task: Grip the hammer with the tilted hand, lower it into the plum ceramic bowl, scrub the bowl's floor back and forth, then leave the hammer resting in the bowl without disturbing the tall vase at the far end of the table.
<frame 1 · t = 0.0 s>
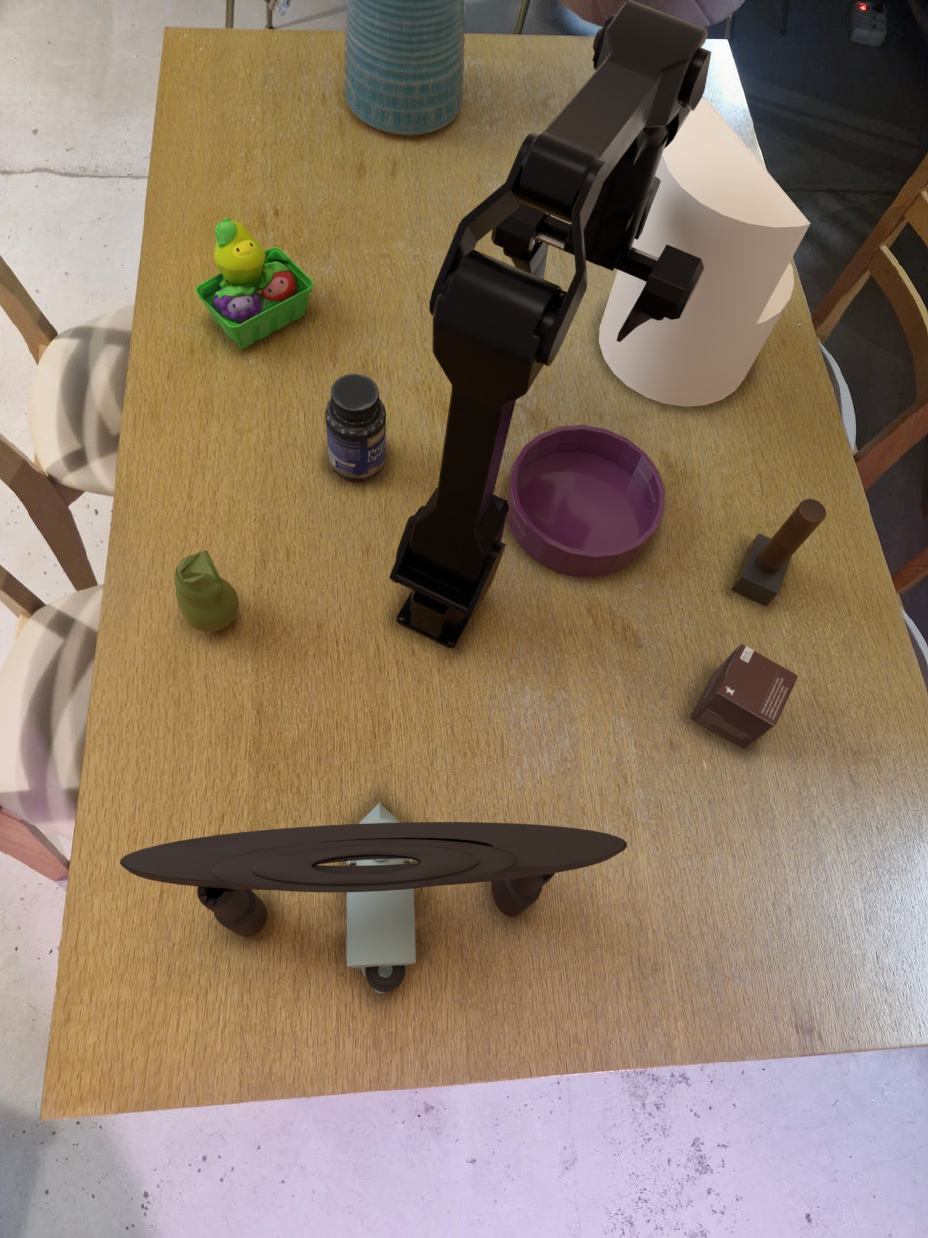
hand: (577, 320, 84), 15 cm above the table, tool pointing down, fingers open, 9 cm apart
hammer: (756, 576, 91), on the table
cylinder: (673, 346, 104), on the table
round plant dolly: (380, 894, 73), on the table
bowl: (579, 511, 92), on the table
vase: (403, 104, 119), on the table
fruit basket: (257, 317, 100), on the table
box: (727, 711, 84), on the table
pill bottle: (357, 460, 92), on the table
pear: (214, 616, 83), on the table
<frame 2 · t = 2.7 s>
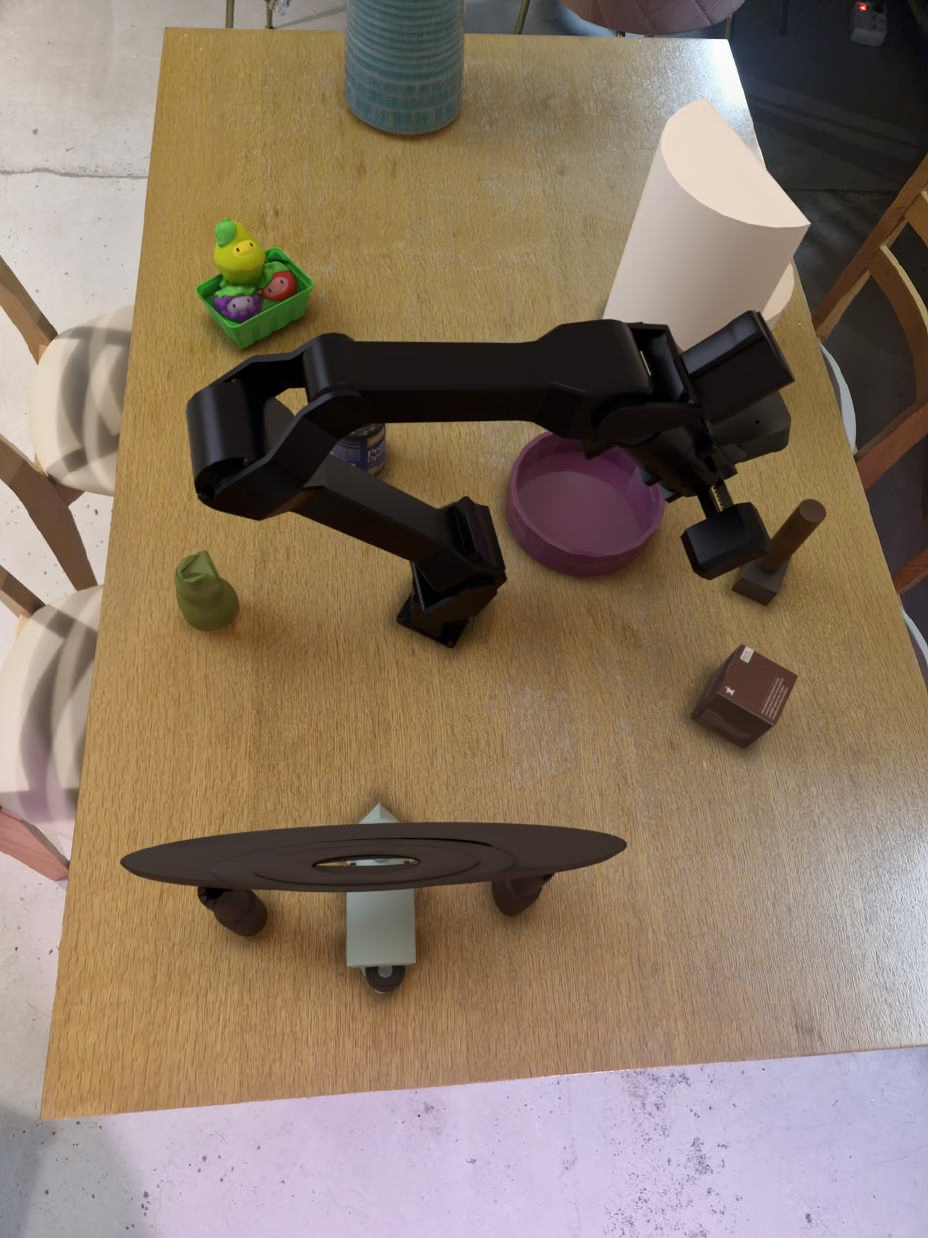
hand: (728, 499, 78), 13 cm above the table, tool tilted 40°, fingers open, 9 cm apart
nothing on the table moved.
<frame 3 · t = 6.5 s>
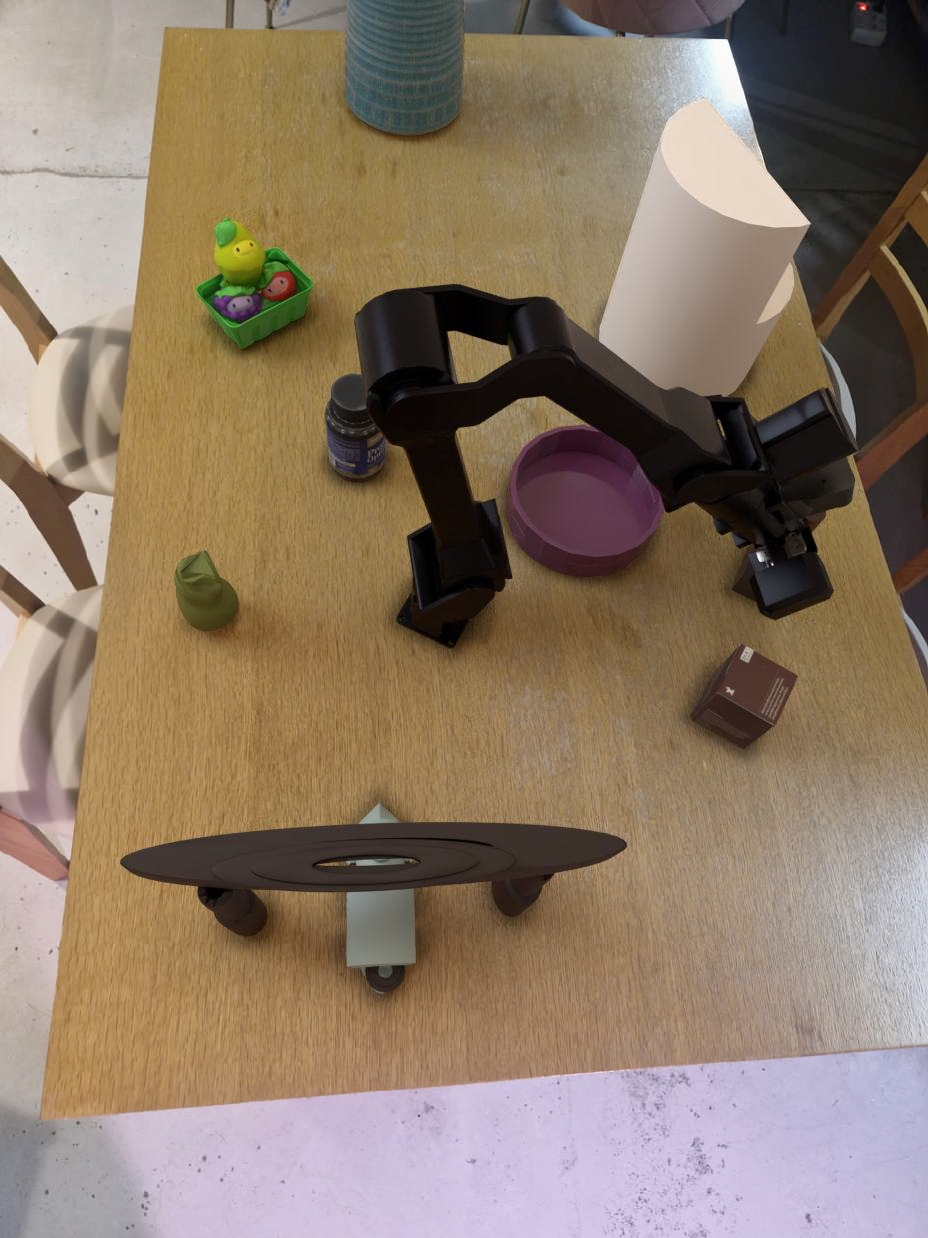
hand: (796, 543, 85), 7 cm above the table, tool tilted 45°, fingers closed on hammer, 2 cm apart
hammer: (756, 576, 91), on the table, touching gripper
everything else where it was.
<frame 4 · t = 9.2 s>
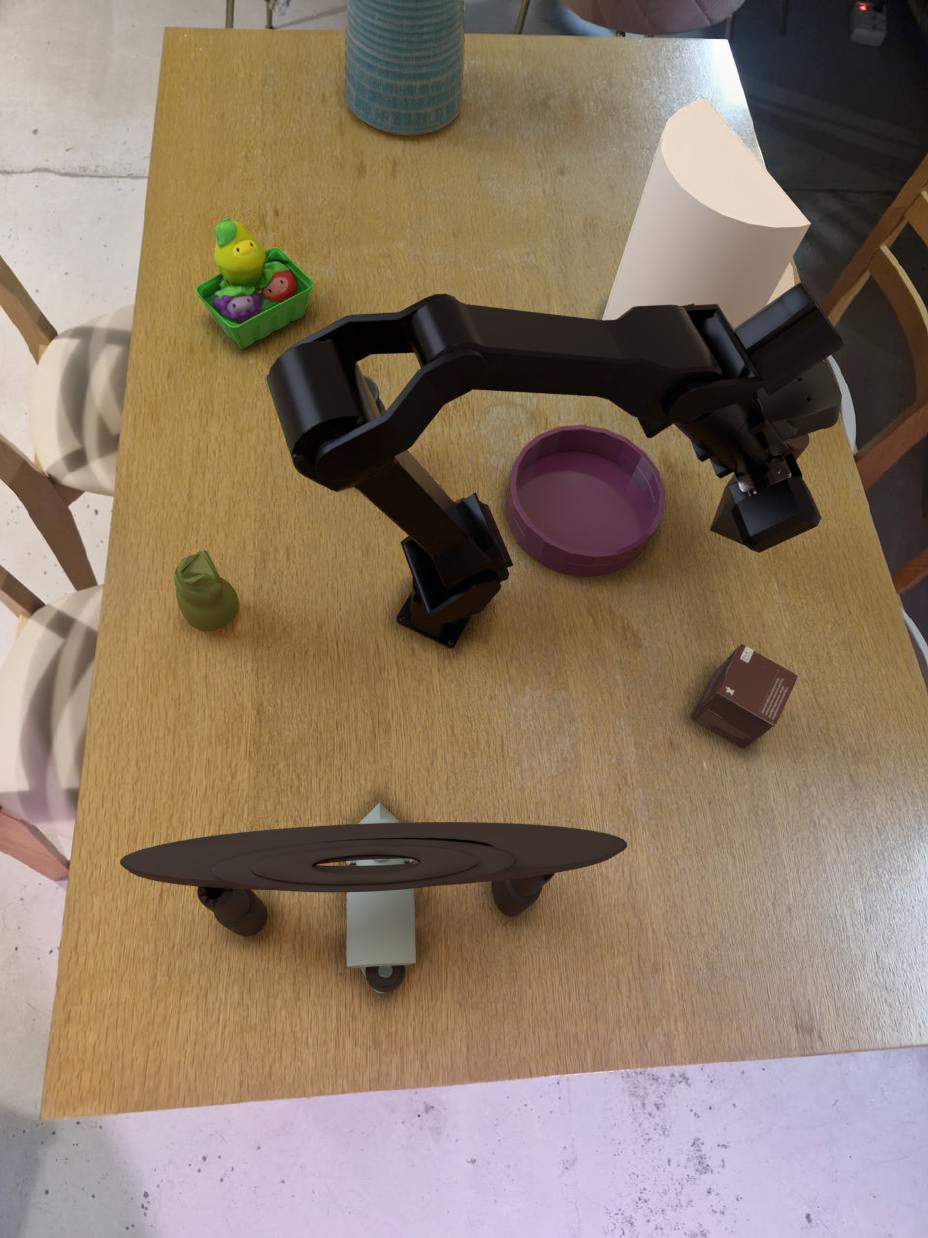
hand: (776, 477, 80), 13 cm above the table, tool tilted 45°, fingers closed on hammer, 2 cm apart
hammer: (735, 516, 86), point 6 cm above the table, touching gripper
everything else where it was.
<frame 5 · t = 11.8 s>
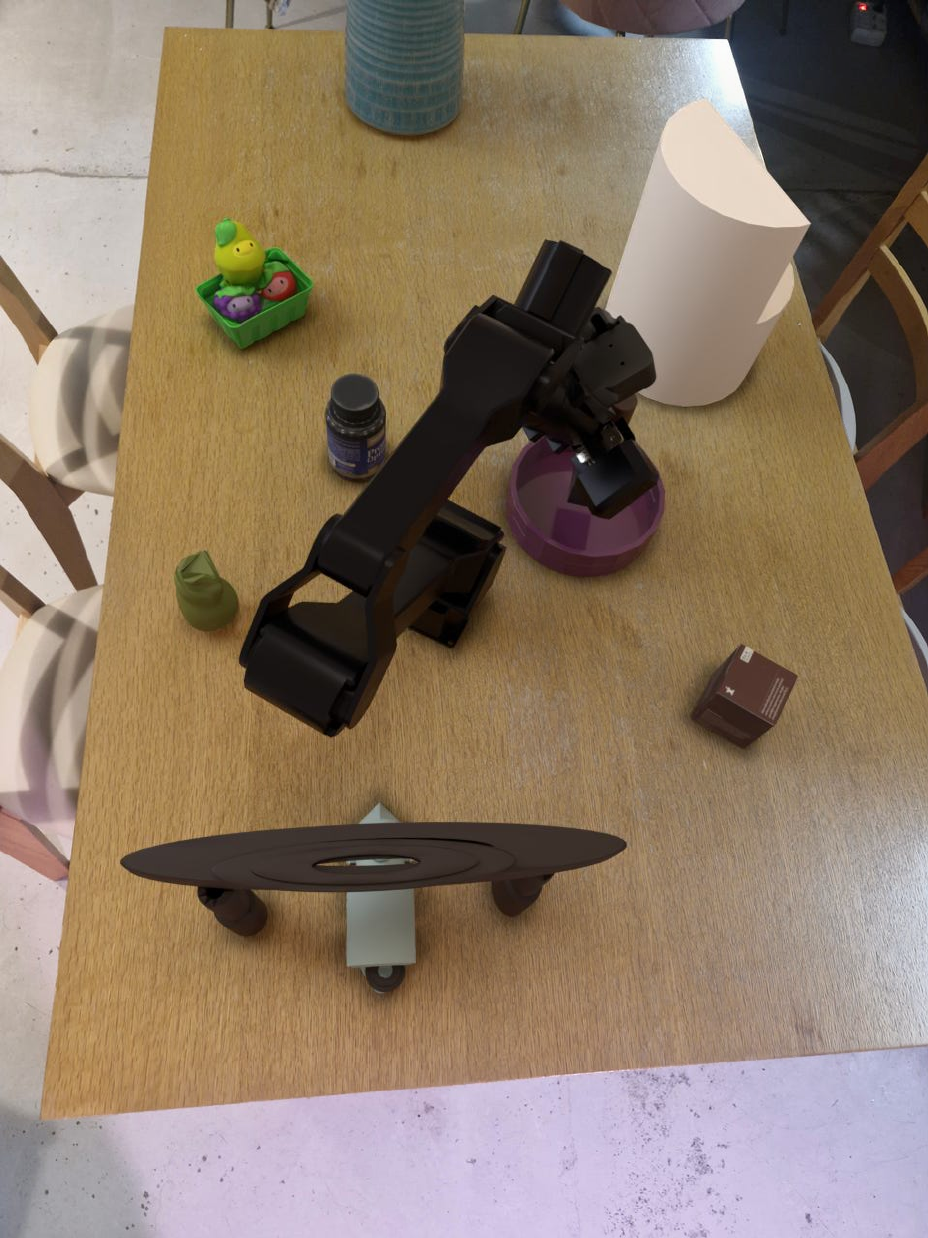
hand: (618, 439, 82), 12 cm above the table, tool tilted 45°, fingers closed on hammer, 2 cm apart
hammer: (590, 483, 87), point 5 cm above the table, touching gripper
everything else where it was.
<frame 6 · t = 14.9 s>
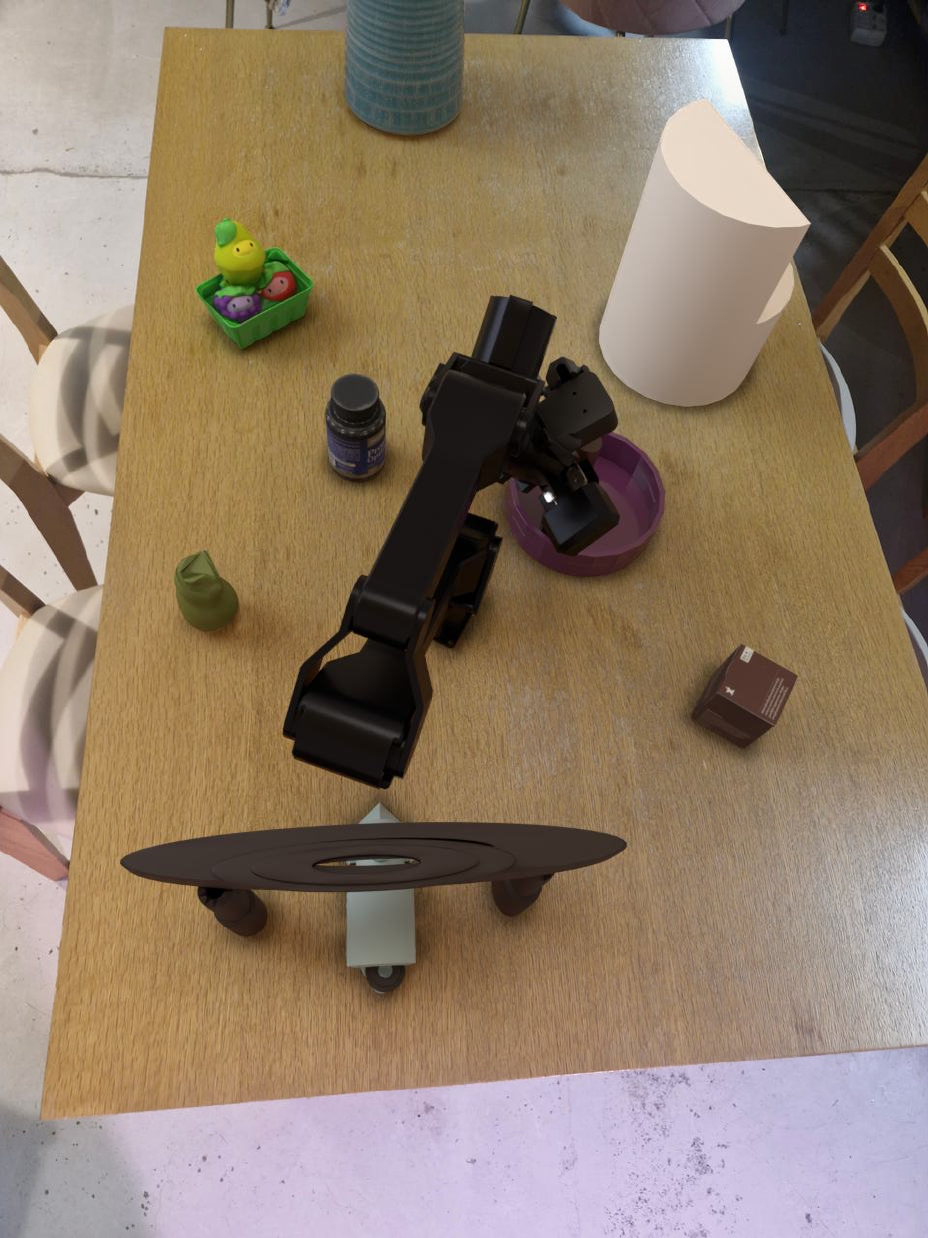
hand: (587, 476, 85), 7 cm above the table, tool tilted 45°, fingers closed on hammer, 2 cm apart
hammer: (563, 515, 91), point 1 cm above the table, touching gripper
everything else where it was.
when the fingers open (7 cm above the table, at t = 17.2 s): hammer stays where it is, resting on bowl.
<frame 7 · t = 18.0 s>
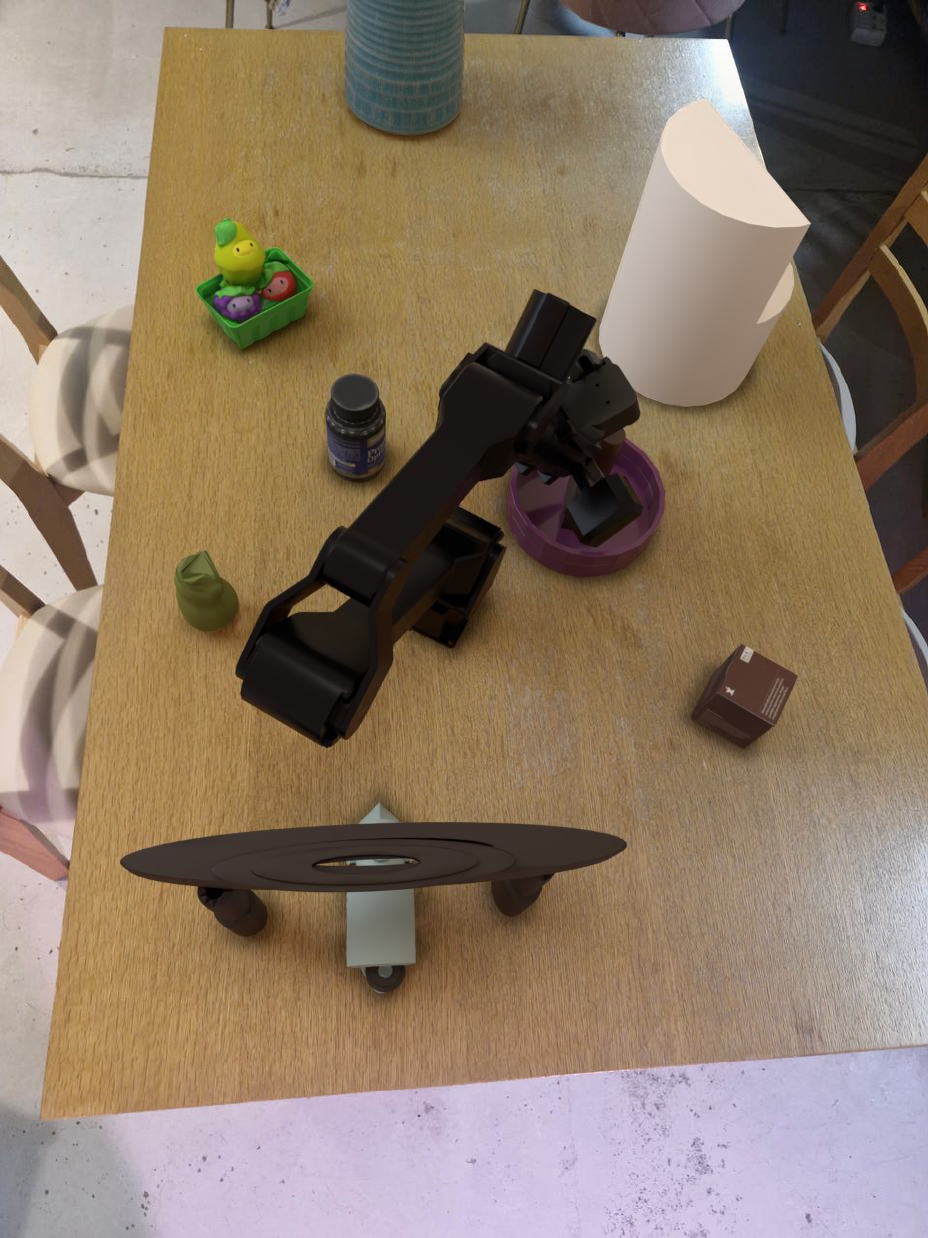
hand: (606, 468, 86), 7 cm above the table, tool tilted 45°, fingers open, 9 cm apart
hammer: (582, 508, 92), point 1 cm above the table, touching bowl
everything else where it was.
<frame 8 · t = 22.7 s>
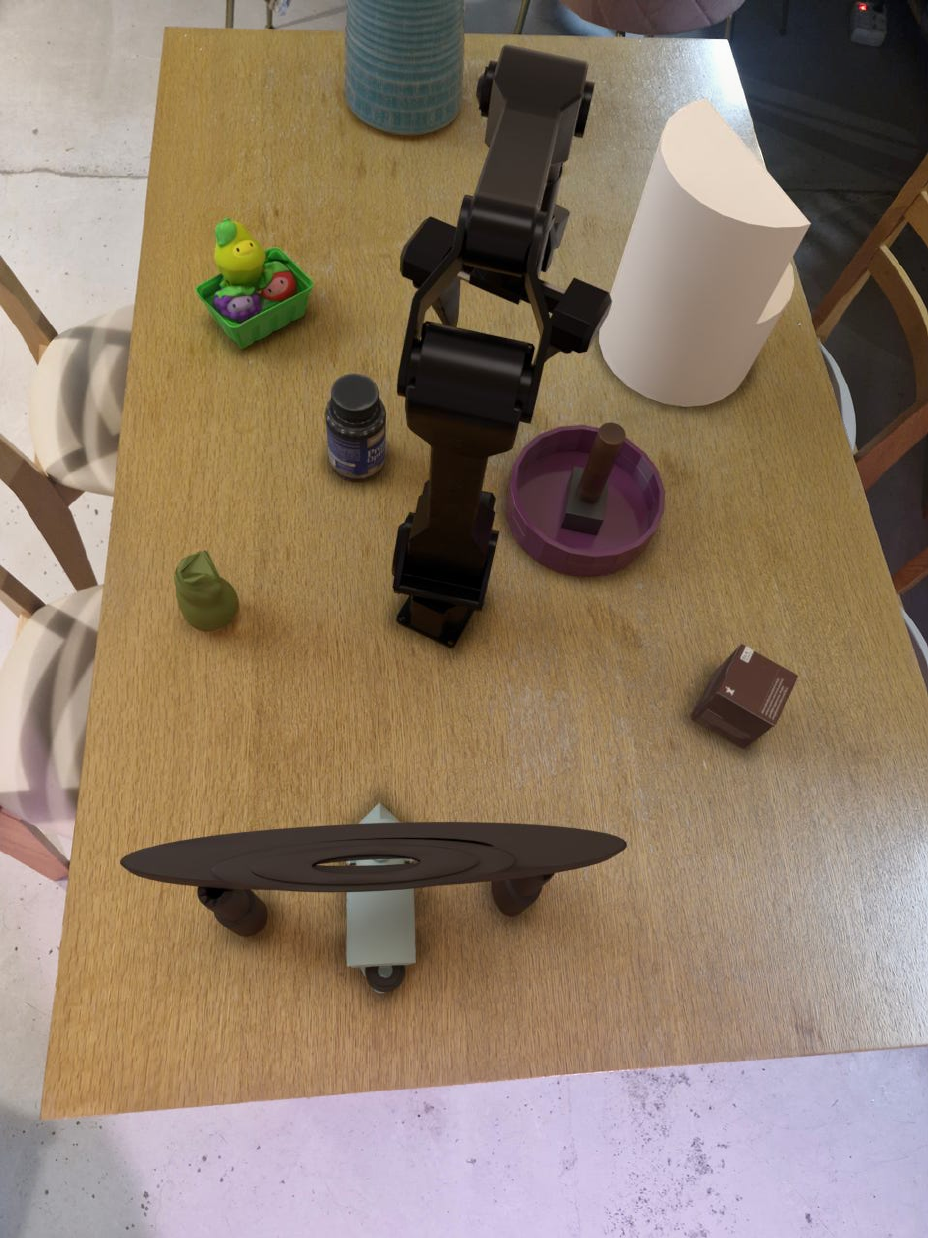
hand: (493, 350, 84), 13 cm above the table, tool pointing down, fingers open, 9 cm apart
nothing on the table moved.
at the end: hammer inside the target area in the bowl (0.2 cm from its centre), point 0.6 cm above the bowl's base; the gripper is holding nothing; vase moved 0.2 cm from its start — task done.
